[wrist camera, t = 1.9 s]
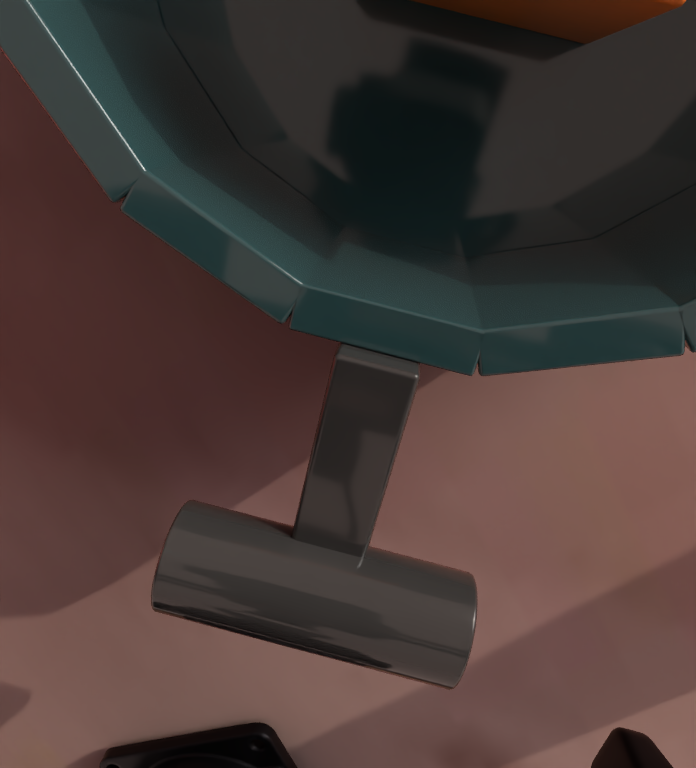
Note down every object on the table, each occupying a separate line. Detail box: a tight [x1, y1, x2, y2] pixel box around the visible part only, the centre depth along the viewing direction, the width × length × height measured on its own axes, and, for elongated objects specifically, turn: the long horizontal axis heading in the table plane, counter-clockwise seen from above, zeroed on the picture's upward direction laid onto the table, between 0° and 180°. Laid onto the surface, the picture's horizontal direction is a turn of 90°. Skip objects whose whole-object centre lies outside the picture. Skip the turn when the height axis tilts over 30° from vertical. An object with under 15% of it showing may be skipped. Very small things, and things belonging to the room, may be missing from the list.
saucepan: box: [0, 0, 696, 690], centre depth 8 cm, size 19×14×6 cm
